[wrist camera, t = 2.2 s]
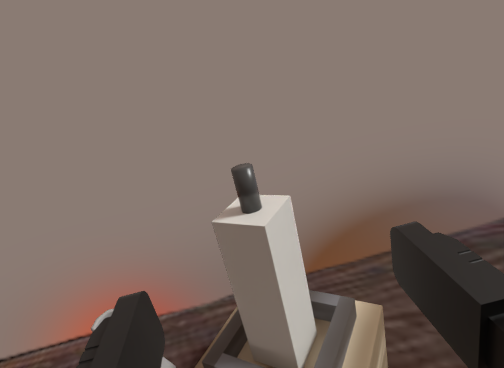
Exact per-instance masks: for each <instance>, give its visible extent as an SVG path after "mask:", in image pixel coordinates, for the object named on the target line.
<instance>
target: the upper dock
mask: <svg viewBox="0 0 504 368" xmlns="http://www.w3.org/2000/svg"><path fill="white" fill-rule="evenodd" d="M309 295H310V300H311V305H312V311H313V316H314V321H315V326H316V331H317V335H316V337H315V340H314V342H313V345H312V347H311V350H310V352H309V355H308V357H307V360H306V362H305V365H304V367H303V368H388V365H387V353H386V342H385V331H384V319H383V308H382V305H376V304H371V303H366V302H360V301H355V299H354V298H349V297H343V296H338V295H333V294H327V293H322V292H316V291H311V290H309ZM195 368H275V367H272V366H269V365H267V364H264V363H261V362H258V361H255V360H254V359H253V356H252V352H251V349H250V346H249V342H248V339H247V336H246V333H245V329H244V326H243V323H242V320H241V316H240V313H239V310H238V306H237V308H236V309H235V310H234V312H233V313H232V315H231V316H230V318H229V319H228V320H227V322H226V323H225V325H224V326H223V328H222V329H221V331H220V332H219V333H218V335H217V336H216V338H215V339H214V341H213V342H212V343H211V345H210V346H209V348H208V349H207V351H206V352H205V353H204V355H203V356H202V358H201V359H200V361H199V362H198V363H197V365H196V366H195Z"/></svg>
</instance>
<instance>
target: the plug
mask: <svg viewBox="0 0 504 368" xmlns="http://www.w3.org/2000/svg"><path fill="white" fill-rule="evenodd" d="M231 172H232V176H233V179H234V183H235V187H236V191H237V195H238V198H237V199H236V200H235V201H234V202H233V203H232V204H231V205H230V206H228V207H227V208H226V209H225V210H224V211H223V212H222V213H221V214H220V215H219V216H218V217H216V218H215V219H214V220H213V221H212V225H213V228H214V231H215V234H216V237H217V241H218V244H219V248H220V251H221V254H222V257H223V260H224V264H225V267H226V271H227V274H228V277H229V280H230V283H231V286H232V290H233V293H234V297H235V300H236V303H237V306H238V310H239V313H240V316H241V320H242V323H243V326H244V329H245V333H246V336H247V339H248V342H249V346H250V349H251V352H252V356H253V359H254V360H255V361H258V362H261V363H264V364H267V365H269V366H272V367H275V368H303V367H304V365H305V362H306V360H307V357H308V355H309V352H310V350H311V347H312V345H313V342H314V340H315V337H316V335H317V331H316V326H315V321H314V316H313V311H312V305H311V300H310V295H309V290H308V285H307V280H306V274H305V269H304V264H303V259H302V254H301V249H300V244H299V238H298V233H297V228H296V223H295V218H294V213H293V207H292V202H291V197H290V196H282V195H281V196H278V195H259V192H258V187H257V183H256V179H255V174H254V170H253V166H252V164H249V163H247V164H246V163H245V164H240V165H237V166H235V167H233V168H232V169H231Z"/></svg>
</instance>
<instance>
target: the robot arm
mask: <svg viewBox="0 0 504 368" xmlns="http://www.w3.org/2000/svg"><path fill="white" fill-rule="evenodd" d="M390 235H391V236H390V237H391V250H392V263H393V271H394V274H395V277H396V279H397V281H398V283H399V284H400V286H401V287H402V288H403V290H404V291H405V292H406V293H407V295H408V296H409V297H410V298H411V299H412V301H413V302H414V303H415V304H416V305H417V307H418V308H419V309H420V310H421V311H422V313H423V314H424V315H425V316H426V317H427V319H428V320H429V321H430V322H431V323H432V325H433V326H434V327H435V328H436V329H437V331H438V332H439V333H440V334H441V335H442V337H443V338H444V339H445V340H446V341H447V343H448V344H449V345H450V346H451V347H452V349H453V350H454V351H455V352H456V353H457V355H458V356H459V357H460V358H461V359H462V361H463V362H464V363H465V364H466V365H467V367H468V368H504V274H503V273H502V272H501V271H499V270H498V269H496V268H495V267H494V266H492V265H491V264H490V263H488V262H487V261H485V260H484V261H483V260H482V258H481V257H480V256H479V255H477V254H476V253H474V252H471V251H470V249H469V248H468V247H466V246H465V245H464V244H462V243H461V242H459V241H458V240H457V239H454V238H452V237H449V236H446V235H444V234H441V233H434V234H433V233H431V232H430V231H429V230H427V229H426V228H425V227H424V226H422V225H421V224H420V223H418V222H411V223H408V224H404V225H400V226H396V227H393V228H391V231H390ZM164 346H165V339H164V332H163V328H162V325H161V323H160V321H159V318H158V316H157V314H156V312H155V309H154V307H153V305H152V302H151V300H150V298H149V296H148V294H147V293H146V292H145V291H141V292H138V293H134V294H130V295H126V296H122V297H120V298H119V299H118V301H117V303H116V305H115V308H114V310H113V313H112V315H111V317H107V318H104V320H103V321H102V322H101V323H100V324H99V326H98V327H97V328H96V329H95V330H94V331H93V333H92V334H91V337H90V339H89V341H88V343H87V345H86V348H85V352H83V354H82V356H81V358H80V361H79V365H78V366H77V367H76V368H161V364H162V358H163V352H164Z"/></svg>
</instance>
